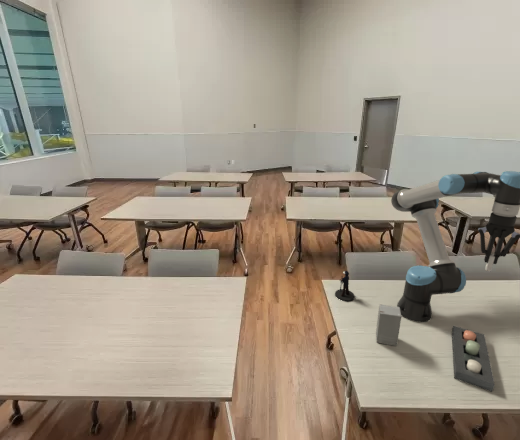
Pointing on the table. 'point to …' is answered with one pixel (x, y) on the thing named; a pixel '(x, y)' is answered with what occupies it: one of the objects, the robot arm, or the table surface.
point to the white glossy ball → (473, 366)
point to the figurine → (342, 293)
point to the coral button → (469, 335)
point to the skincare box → (388, 324)
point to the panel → (462, 357)
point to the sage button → (472, 347)
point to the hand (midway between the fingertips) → (487, 270)
